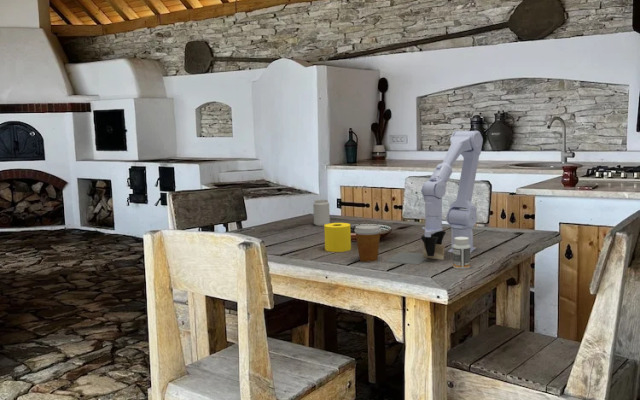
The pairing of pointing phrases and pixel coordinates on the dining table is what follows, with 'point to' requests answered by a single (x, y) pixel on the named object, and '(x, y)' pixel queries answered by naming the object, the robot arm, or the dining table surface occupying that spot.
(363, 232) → the disposable coffee cup
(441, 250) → the wooden block
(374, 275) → the dining table surface
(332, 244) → the yellow toilet paper roll
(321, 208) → the can
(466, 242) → the pill bottle
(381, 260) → the dining table surface
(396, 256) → the mat
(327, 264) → the dining table surface
